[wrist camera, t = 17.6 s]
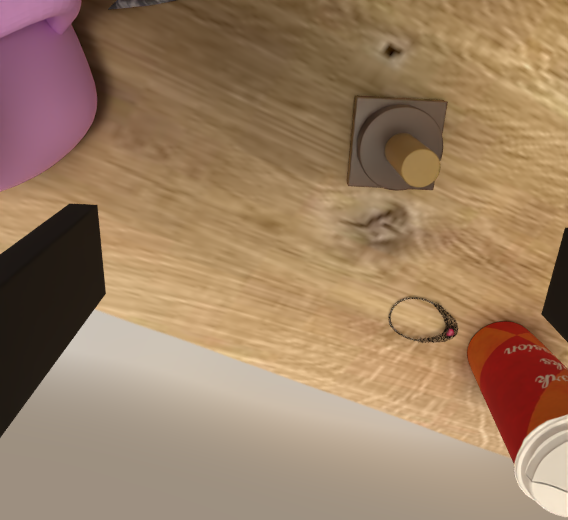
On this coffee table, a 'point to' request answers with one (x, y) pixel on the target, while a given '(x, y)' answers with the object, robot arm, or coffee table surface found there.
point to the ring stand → (396, 142)
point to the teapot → (41, 87)
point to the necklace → (449, 333)
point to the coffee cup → (526, 408)
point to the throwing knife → (136, 3)
